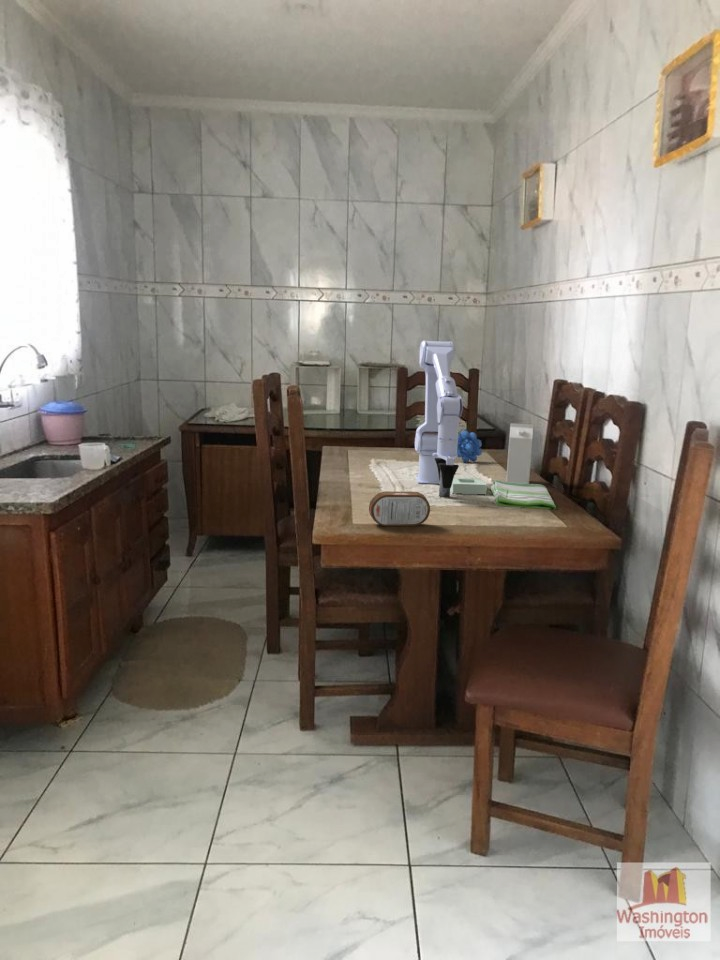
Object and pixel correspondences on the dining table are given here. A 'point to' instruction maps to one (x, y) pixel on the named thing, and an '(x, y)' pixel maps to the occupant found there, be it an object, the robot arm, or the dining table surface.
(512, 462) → the milk carton
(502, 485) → the dish towel
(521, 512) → the dining table surface
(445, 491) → the peg
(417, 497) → the tin
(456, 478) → the socket
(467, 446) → the grapes
